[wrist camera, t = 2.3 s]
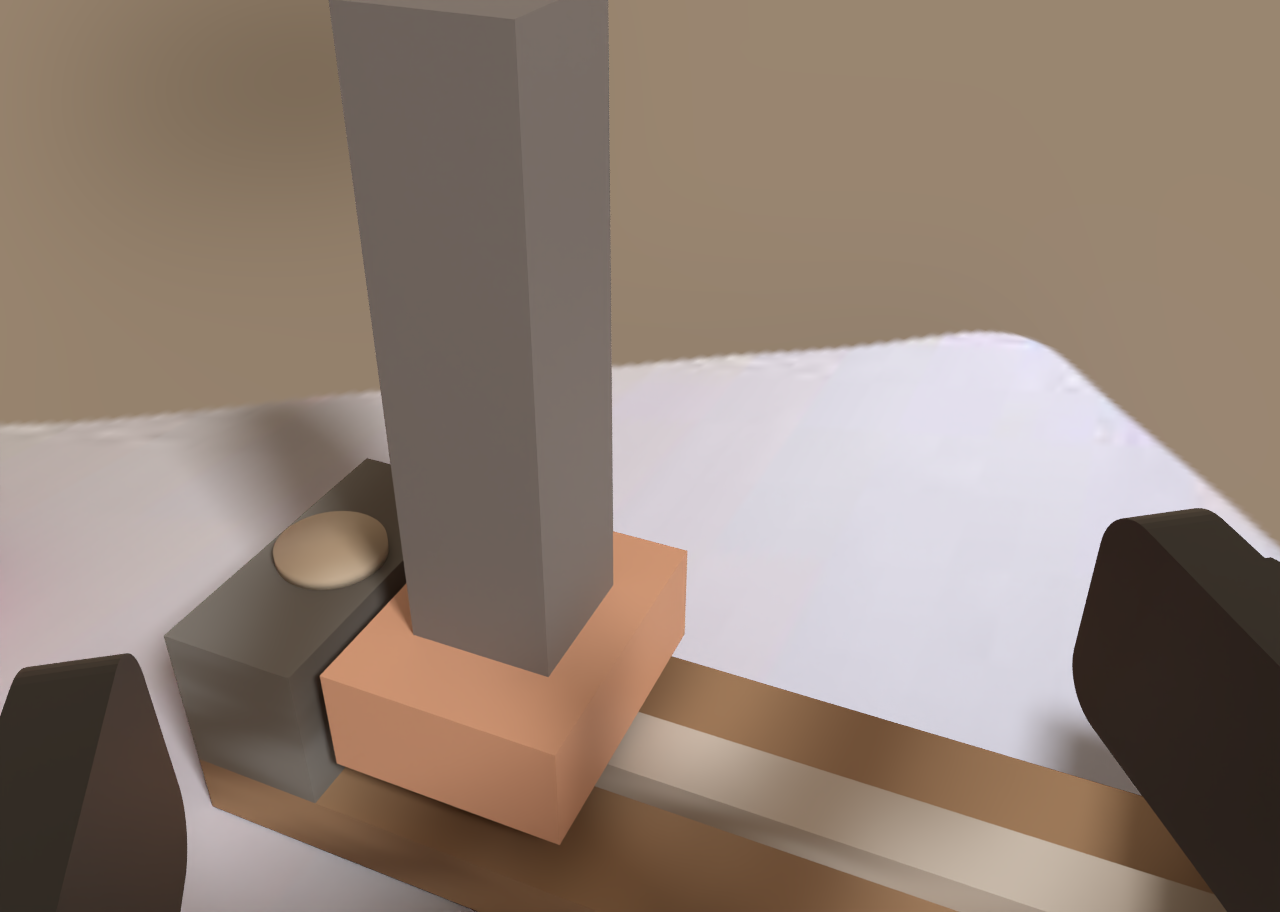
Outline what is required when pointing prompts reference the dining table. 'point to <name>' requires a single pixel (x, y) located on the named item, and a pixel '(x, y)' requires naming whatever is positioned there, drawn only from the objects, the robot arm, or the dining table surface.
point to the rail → (648, 776)
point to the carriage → (494, 412)
